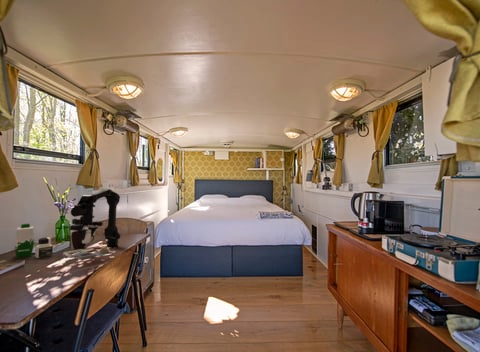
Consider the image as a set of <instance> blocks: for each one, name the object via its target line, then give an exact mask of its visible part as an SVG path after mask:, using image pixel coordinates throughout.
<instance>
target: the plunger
mask: <svg viewBox="0 0 480 352" xmlns="http://www.w3.org/2000/svg"><path fill="white" fill-rule="evenodd" d="M107 249H108V247H107V245H105V246H104V245H103V246H101V248H100V250H107Z"/></svg>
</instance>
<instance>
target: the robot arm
mask: <svg viewBox="0 0 480 352" xmlns="http://www.w3.org/2000/svg"><path fill="white" fill-rule="evenodd" d="M102 198H105V199H106V203H107V204H108V214H107V216H108V218H107V219H108V220H107V226H106V227H105V228H104V232H103V235H104V238H105V240H107V241H106V246H107V248H112V249H114V247H115V248H119V247H118V246H119V245H118V244H119V239H120V238H121V234H120V233H119V231H118V230H119V229H118V227H117V225H116V224H117V223H116V221H117V206H118V205H119V203H120V198H121V196H120V195H119V194H118V193H117V192H115V191H113V190H112V189H110V188H104V189H102V190H100V191H96V192H94V193H91V194H89V193H88V194H82V195H81V196H80V199H79V201H78V202H77V204H74V206H73V207H72V208H71V210H70V214H71V216H72V217H74V218H73V219H72V220H71V224H72V225H70V227H69V230H70V231H78V232H79V234H80V236H81V238H82V240H84V238H85V234H86V229H89V230H91V238H93V236H92V235H94V234H95V232H96V230H97V229H98V228H99V227H102V226H103V222H102V221H98V220H94V221H93V219H94V218H95V215H94V208H96V205H95V203H97V201H98V200H100V199H102ZM75 217H79V218H75Z"/></svg>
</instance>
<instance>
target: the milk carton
mask: <svg viewBox="0 0 480 352" xmlns="http://www.w3.org/2000/svg"><path fill="white" fill-rule="evenodd" d="M30 225H31V224H30V223H23V224H21V225H20V227H17V228H16V231H15V242H14V243H15V244H14V251H15V258H16V259H20V258H27V257H32V256H33V255H32V254H33V250H34V245H35V244H34V242H35V229H34V228H35V227H34V226H33V225H32V226H30Z"/></svg>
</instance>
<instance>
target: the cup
mask: <svg viewBox="0 0 480 352" xmlns="http://www.w3.org/2000/svg"><path fill="white" fill-rule="evenodd" d="M70 235H71V236H70V237H71V243H72V248H73V250H79V249H82V250H85V247H86V246H88V245H90V244H91V243H93V241H94V239H95V236H94V234H93V235H92V238H91V242H90V243H82V238H81V236H80V234H79V232H78V231H75V230H73V231H71V234H70Z"/></svg>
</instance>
